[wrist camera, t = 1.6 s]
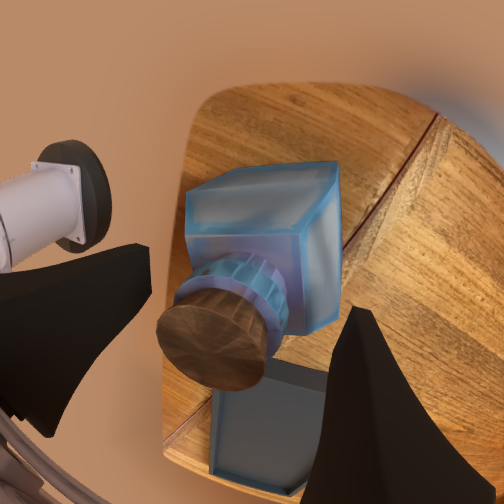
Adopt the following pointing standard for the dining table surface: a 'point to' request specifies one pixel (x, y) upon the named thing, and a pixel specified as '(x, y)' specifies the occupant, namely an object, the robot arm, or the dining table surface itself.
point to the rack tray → (269, 429)
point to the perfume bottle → (255, 270)
